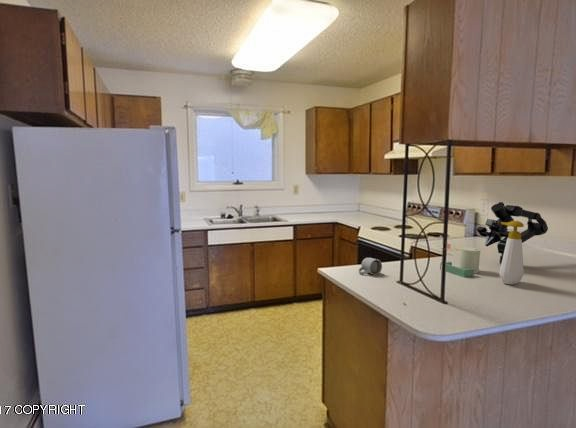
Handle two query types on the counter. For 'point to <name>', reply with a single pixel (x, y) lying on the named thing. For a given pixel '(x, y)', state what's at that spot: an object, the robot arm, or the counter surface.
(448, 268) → the green piece
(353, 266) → the counter surface
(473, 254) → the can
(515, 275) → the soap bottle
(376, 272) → the ceramic mug
